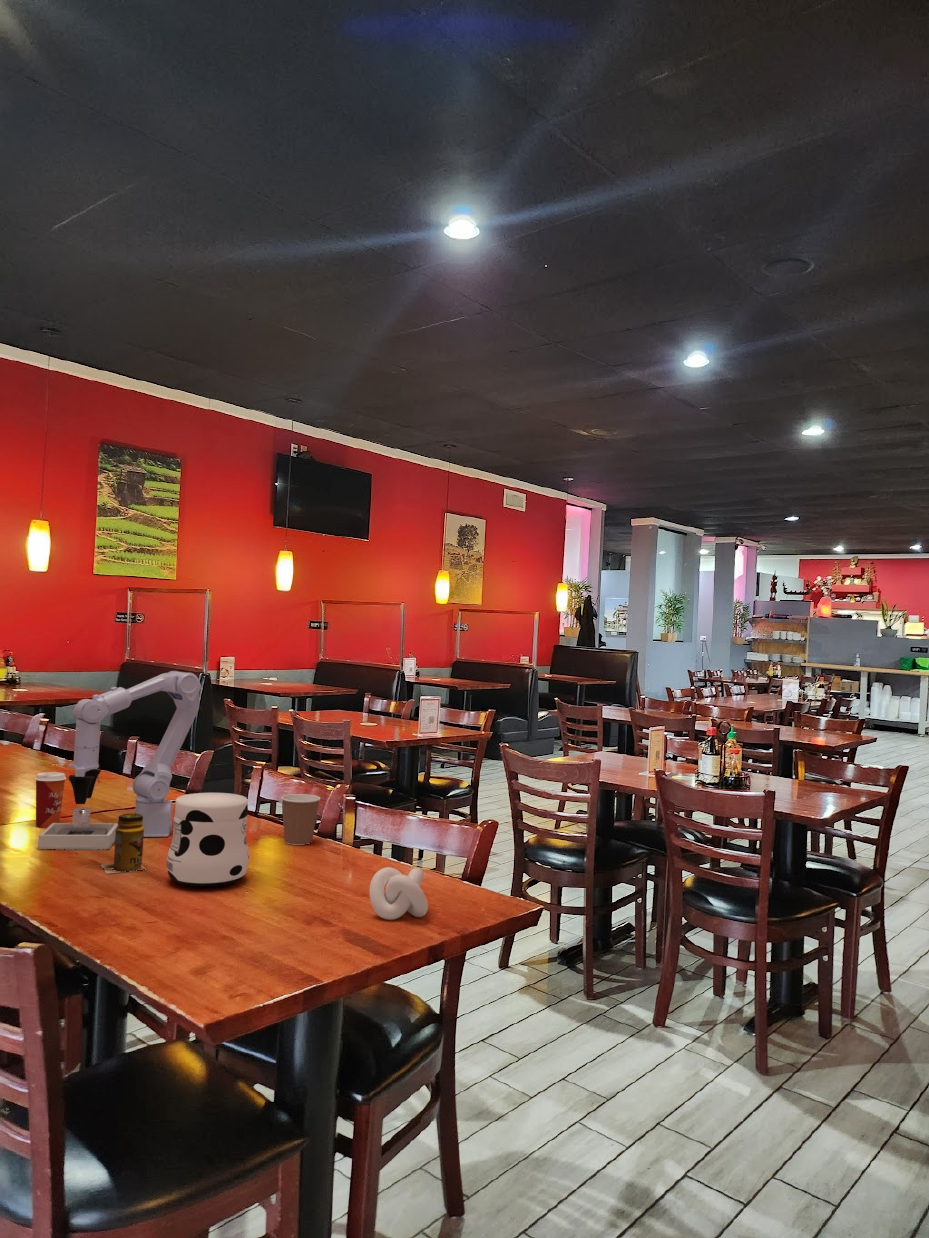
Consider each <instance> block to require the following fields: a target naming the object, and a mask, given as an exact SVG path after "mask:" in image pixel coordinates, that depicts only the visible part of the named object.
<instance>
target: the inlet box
mask: <svg viewBox="0 0 929 1238" xmlns="http://www.w3.org/2000/svg"><path fill="white" fill-rule="evenodd" d="M117 827H118V822H113V823H111V822H108V823H107V822H105V823H104V822H90V825H89V835H71V834H72V822H59V823H52V824H51V825H50V826H49V827H48V828H45V829H44V830H43V831H42V832H41V833H40V834H38V838H37V839H38V840H37V850H38V849H45V850H44V851H47V850H46V849H52V850H51V851H54V850H53V849H56V850H55V851H108V850H110V849H111V847H112V846H113V845H114V844H115V835H116V828H117ZM112 844H113V845H112ZM57 849H59V850H57ZM60 849H61V850H60ZM64 849H65V850H64ZM75 849H76V850H75ZM98 849H99V850H98ZM103 849H104V850H103ZM107 849H108V850H107Z"/></svg>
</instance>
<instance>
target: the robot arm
mask: <svg viewBox="0 0 929 1238" xmlns="http://www.w3.org/2000/svg"><path fill="white" fill-rule="evenodd" d="M202 687H203V686H202V684H201V682H200V679H199V678H198V676H197V674H194V673H193V672H184V671H178V670H171V671H168V672H164V673H161V674H159V675H157V676H154V677H151V678H150V679H147V680H145V681H142V682H141V683H139V684H136V685H134V686H132V687H128V688H124V687H121V686H119V687H117V686H112V687H110V690H109V691H106V692H104V693H101V694H93V695H92V699H89V698H84V699H80V700H79V701H77V703H76V704H75V706H74V708H73V709H72V715H73V717H74V718H75V720H76V722H75V723H76V724H75V732H74V733H75V734H74V735H75V736H74V748H73V749H74V753H73V763H69V764H68V765H67V768H72V769H73V770H74V772H75V774H70V775H69V776H68V780H69V782H70V784H71V786H72V787H71V788H72V791H73V798H74V801H75V804H76V805H86V802H87V799H92V796H93V793H94V789H95V785H96V782H97V779H98V777H99V776H100V774H101V772H102V770H101V769H99V768H100V764H99V757H100V755H99V753H100V739H101V738H100V737H101V722H102V721H103V719H105V717H107V716H110V715H112V714H115V713H118V712H121V711H122V710H125V709H127V708H129V707H130V706H131V704H132V702H133V701H135V700H138V699H140V698H143V697H146V696H149V695H152V694H155V693H158V692H166V693H167V694H168V696H170V697H171V698H172V699H173V703H174V705H175V707H176V710H175V711H174V713H173V716H172V718H171V720H170V721H169V724H168V726H167V729H166V730H165V731H164V732H165V733H164V734H163V736H162V739H161V741H160V743H159V744H158V747H157V748H156V751H155V753H154V755H153V756H152V760H151V761H150V762H149V763H148V764H145V766H144V767H143V769H142V771H141V772H140V773H139V774H138V775H137V776H136V777H135V778H134V779H133V781H132V791H133V792H134V794H135V795H136V796H135V797H136V798H135V807H134V809H135V810H134V814H141V815H142V816H143V824H142V826H143V827H144V836H143V838H148V837H149V838H157V837H158V838H162V837H163V838H164V837H165V838H167V837H169V836H170V834H171V831H172V828H173V827H172V826H173V822H172V820H173V801H172V800H166V797H168V795H169V793H170V785H171V781H172V778H173V775H172V771H171V769H172V767H173V765H174V763H175V760H176V758H177V756H178V754H179V752H180V749H181V747H182V746H183V744H184V742H185V739H186V737H187V735H188V733H189V732H190V729H191V726H192V725H193V723H194V721H195V718H196V716H197V714H198V712H199V709H200V691H201V690H202Z"/></svg>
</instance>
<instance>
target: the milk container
mask: <svg viewBox="0 0 929 1238" xmlns="http://www.w3.org/2000/svg"><path fill="white" fill-rule="evenodd" d="M248 802H249V801H248V798H247V796H244V795H241V794H236V793H229V792H227V793H226V792H198V793H196V792H195V793H188V794H184V795H183V794H182V795H179V796H178V797H176V800H175V803H174V804H175V805H174V816H173V824H172V826H173V827H172V828H173V830H172V831H173V832H172V833H173V834H172V840H171V844H170V847H169V849H168V853H167V857H166V869H167V874H168V876H169V878H170V879H171V880H172V881H174V882H176V883H178V884H181V885H184V886H191V887H197V888H198V887H199V888H200V887H202V888H203V887H205V888H206V887H207V888H208V887H218V886H223V885H229V884H234V883H235V882H238V881H239V880H241V879H242V878H243V877H244V876H245V875H246V873H247V870H248V868H249V863H250V853H249V847H248V843H247V842H248V841H247V827H248V812H249V804H248Z"/></svg>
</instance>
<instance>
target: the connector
mask: <svg viewBox="0 0 929 1238" xmlns="http://www.w3.org/2000/svg"><path fill="white" fill-rule="evenodd" d="M90 821H91V808H90V807H76V808H73V809H72V822H71V823H72V834H71V835H89V825H90V823H91V822H90Z"/></svg>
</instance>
